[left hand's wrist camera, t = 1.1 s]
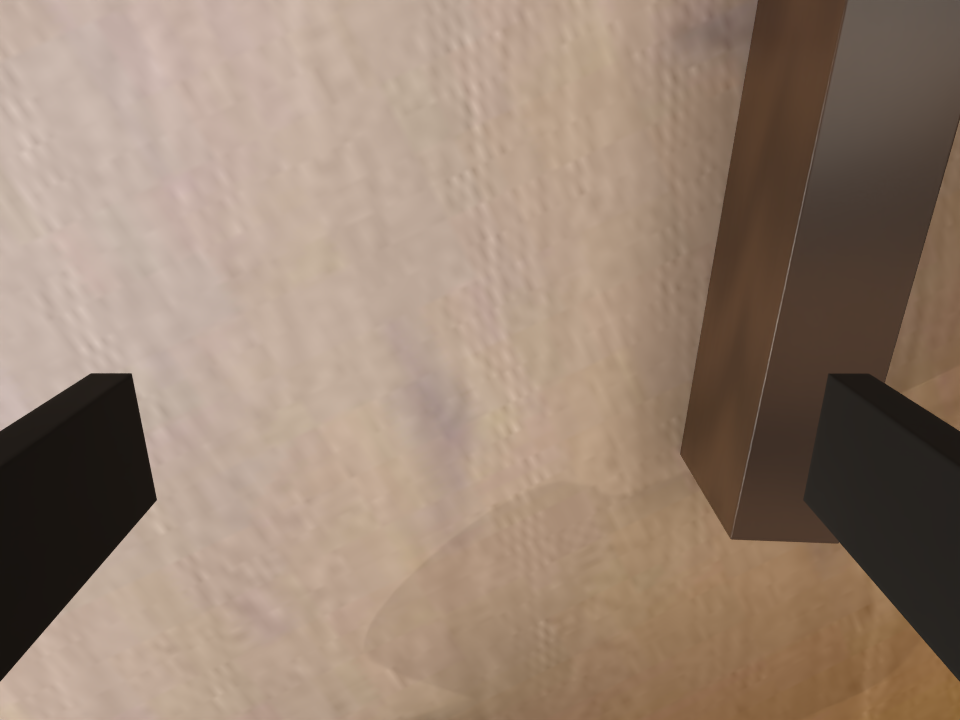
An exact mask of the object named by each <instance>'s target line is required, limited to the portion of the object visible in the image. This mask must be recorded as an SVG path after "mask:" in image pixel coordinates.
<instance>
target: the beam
mask: <svg viewBox="0 0 960 720" xmlns="http://www.w3.org/2000/svg"><path fill="white" fill-rule="evenodd" d="M959 120H960V0H758V6H757V11H756V17H755V23H754V29H753V35H752V40H751V46H750V52H749V58H748V64H747V69H746V75H745V81H744V87H743V93H742V99H741V104H740V110H739V116H738V122H737V128H736V133H735V139H734V145H733V151H732V157H731V162H730V168H729V174H728V180H727V186H726V191H725V197H724V203H723V209H722V215H721V220H720V226H719V232H718V238H717V244H716V249H715V255H714V261H713V267H712V273H711V278H710V284H709V290H708V296H707V302H706V307H705V313H704V319H703V325H702V331H701V336H700V342H699V348H698V354H697V360H696V365H695V371H694V377H693V383H692V389H691V395H690V400H689V406H688V412H687V418H686V424H685V429H684V435H683V441H682V447H681V453H680V455H681V456H682V458H683V460H684V461H685V463H686V465H687V467H688V468H689V470H690V472H691V473H692V475H693V477H694V478H695V480H696V482H697V483H698V485H699V487H700V488H701V490H702V492H703V493H704V495H705V497H706V499H707V500H708V502H709V504H710V505H711V507H712V509H713V510H714V512H715V514H716V515H717V517H718V519H719V520H720V522H721V524H722V525H723V527H724V529H725V531H726V532H727V534H728V536H729V537H730V539H735V540H760V541H786V542H812V543H839V541H838V540H837V539H836V538H835V536H834V535H833V534H832V533H831V532H830V531H829V529H828V528H827V527H826V526H825V525H824V524H823V522H822V521H821V520H820V519H819V518H818V517H817V516H816V514H815V513H814V512H813V511H812V510H811V509H810V507H809V506H808V505H807V504H806V503H805V502H804V500H803V498H804V493H805V488H806V483H807V478H808V473H809V468H810V463H811V458H812V453H813V448H814V443H815V438H816V433H817V428H818V423H819V418H820V413H821V408H822V403H823V398H824V393H825V388H826V383H827V378H828V373H869V374H871V375H872V376H874V377H875V378H877V379H878V380H880V381H882V382H883V383H885V379H886V376H887V372H888V369H889V365H890V362H891V358H892V355H893V351H894V348H895V344H896V341H897V337H898V334H899V330H900V327H901V323H902V320H903V316H904V313H905V309H906V306H907V302H908V299H909V295H910V292H911V288H912V285H913V281H914V278H915V274H916V271H917V267H918V264H919V260H920V257H921V253H922V250H923V246H924V243H925V239H926V236H927V232H928V229H929V225H930V222H931V218H932V215H933V211H934V208H935V204H936V201H937V197H938V194H939V190H940V187H941V183H942V179H943V176H944V172H945V169H946V165H947V162H948V158H949V155H950V151H951V148H952V144H953V141H954V137H955V134H956V130H957V127H958V123H959Z"/></svg>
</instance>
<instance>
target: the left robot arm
mask: <svg viewBox="0 0 960 720" xmlns="http://www.w3.org/2000/svg"><path fill="white" fill-rule="evenodd" d="M156 500H157V498H156V493H155V488H154V483H153V478H152V473H151V468H150V463H149V458H148V453H147V448H146V443H145V438H144V433H143V428H142V423H141V418H140V413H139V408H138V403H137V398H136V393H135V388H134V383H133V378H132V373H91V374H89V375H88V376H86V377H85V378H83V379H82V380H80V381H78V382H77V383H75V384H74V385H72V386H71V387H69V388H67V389H66V390H64V391H63V392H61V393H60V394H58V395H56V396H55V397H53V398H52V399H50V400H49V401H47V402H45V403H44V404H42V405H41V406H39V407H38V408H36V409H34V410H33V411H31V412H30V413H28V414H27V415H25V416H24V417H22V418H20V419H19V420H17V421H16V422H14V423H13V424H11V425H9V426H8V427H6V428H5V429H3V430H2V431H0V681H1V680H2V679H3V678H4V677H5V676H6V674H7V673H8V672H9V671H10V670H11V669H12V667H13V666H14V665H15V664H16V663H17V662H18V660H19V659H20V658H21V657H22V656H23V655H24V653H25V652H26V651H27V650H28V649H29V648H30V647H31V645H32V644H33V643H34V642H35V641H36V640H37V638H38V637H39V636H40V635H41V634H42V633H43V631H44V630H45V629H46V628H47V627H48V626H49V625H50V623H51V622H52V621H53V620H54V619H55V618H56V616H57V615H58V614H59V613H60V612H61V611H62V609H63V608H64V607H65V606H66V605H67V604H68V602H69V601H70V600H71V599H72V598H73V597H74V596H75V594H76V593H77V592H78V591H79V590H80V589H81V587H82V586H83V585H84V584H85V583H86V582H87V580H88V579H89V578H90V577H91V576H92V575H93V573H94V572H95V571H96V570H97V569H98V568H99V567H100V565H101V564H102V563H103V562H104V561H105V560H106V558H107V557H108V556H109V555H110V554H111V553H112V551H113V550H114V549H115V548H116V547H117V546H118V545H119V543H120V542H121V541H122V540H123V539H124V538H125V536H126V535H127V534H128V533H129V532H130V531H131V529H132V528H133V527H134V526H135V525H136V524H137V522H138V521H139V520H140V519H141V518H142V517H143V516H144V514H145V513H146V512H147V511H148V510H149V509H150V507H151V506H152V505H153V504H154V503H155V502H156ZM803 500H804V502H805V503H806V504H807V505H808V506H809V507H810V509H811V510H812V511H813V512H814V513H815V514H816V516H817V517H818V518H819V519H820V520H821V521H822V522H823V524H824V525H825V526H826V527H827V528H828V529H829V531H830V532H831V533H832V534H833V535H834V536H835V538H836V539H837V540H838V541H839V542H840V543H841V544H842V546H843V547H844V548H845V549H846V550H847V551H848V553H849V554H850V555H851V556H852V557H853V558H854V560H855V561H856V562H857V563H858V564H859V565H860V567H861V568H862V569H863V570H864V571H865V572H866V573H867V575H868V576H869V577H870V578H871V579H872V580H873V582H874V583H875V584H876V585H877V586H878V587H879V589H880V590H881V591H882V592H883V593H884V594H885V596H886V597H887V598H888V599H889V600H890V601H891V602H892V604H893V605H894V606H895V607H896V608H897V609H898V611H899V612H900V613H901V614H902V615H903V616H904V618H905V619H906V620H907V621H908V622H909V623H910V625H911V626H912V627H913V628H914V629H915V630H916V631H917V633H918V634H919V635H920V636H921V637H922V638H923V640H924V641H925V642H926V643H927V644H928V645H929V647H930V648H931V649H932V650H933V651H934V652H935V653H936V655H937V656H938V657H939V658H940V659H941V660H942V662H943V663H944V664H945V665H946V666H947V667H948V669H949V670H950V671H951V672H952V673H953V674H954V676H955V677H956V678H957V679H958V680H959V681H960V431H958V430H957V429H955V428H954V427H952V426H951V425H949V424H947V423H946V422H944V421H943V420H941V419H940V418H938V417H936V416H935V415H933V414H932V413H930V412H929V411H927V410H926V409H924V408H922V407H921V406H919V405H918V404H916V403H915V402H913V401H911V400H910V399H908V398H907V397H905V396H904V395H902V394H900V393H899V392H897V391H896V390H894V389H893V388H891V387H889V386H888V385H886V384H885V383H883V382H882V381H880V380H878V379H877V378H875V377H874V376H872V375H871V374H869V373H828V378H827V383H826V388H825V393H824V398H823V403H822V408H821V413H820V418H819V423H818V428H817V433H816V438H815V443H814V448H813V453H812V458H811V463H810V468H809V473H808V478H807V483H806V488H805V493H804V498H803Z"/></svg>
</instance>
